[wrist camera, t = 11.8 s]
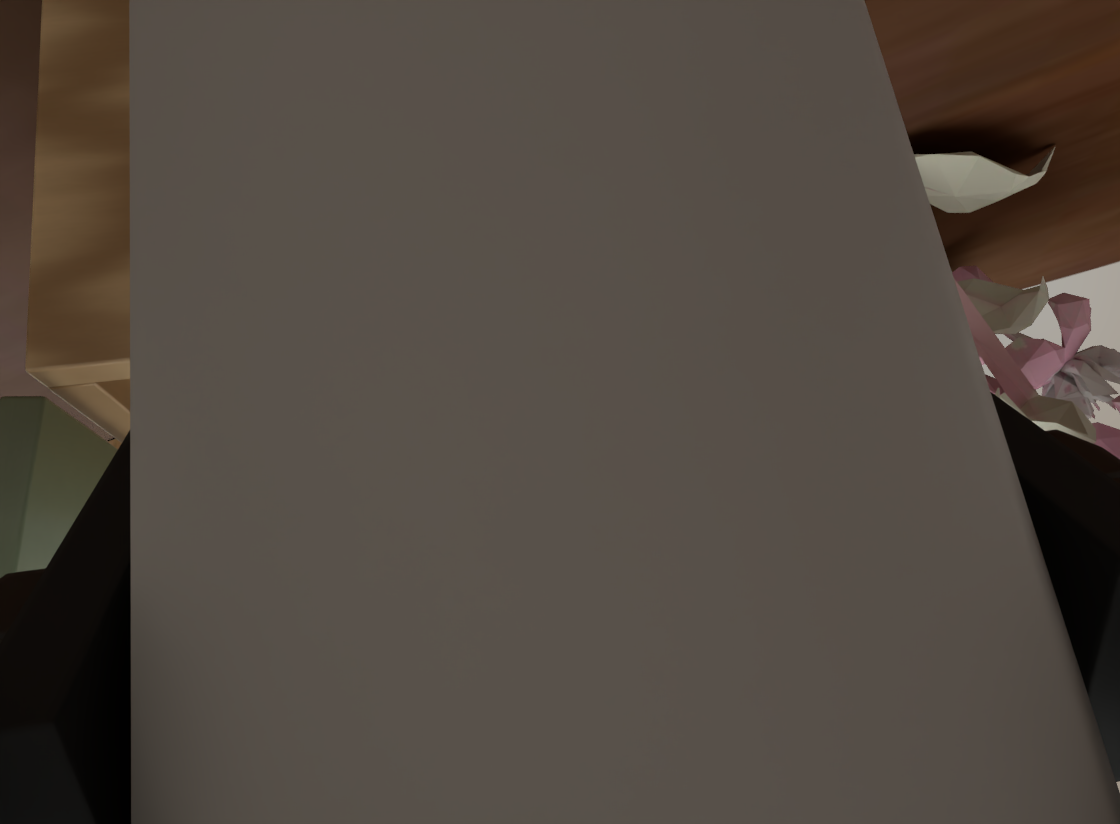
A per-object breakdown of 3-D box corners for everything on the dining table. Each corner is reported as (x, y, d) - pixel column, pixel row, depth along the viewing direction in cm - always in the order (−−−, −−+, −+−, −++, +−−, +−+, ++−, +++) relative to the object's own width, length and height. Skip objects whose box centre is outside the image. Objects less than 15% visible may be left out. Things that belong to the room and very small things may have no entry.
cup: (-72, -181, 8) (-212, 1313, 4) (918, -411, 7) (1554, 1093, 4) (309, 269, 16) (355, 912, 12) (784, 177, 15) (955, 823, 12)
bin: (672, -210, 22) (799, 290, 18) (599, 176, 38) (657, 492, 34) (49, -184, 21) (23, 372, 16) (243, 207, 37) (255, 543, 32)
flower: (583, 329, 49) (815, 726, 49) (845, 102, 29) (1253, 778, 28) (825, 204, 58) (1026, 540, 57) (1158, -38, 38) (1478, 476, 37)
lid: (-156, 1577, 11) (-223, 1583, 11) (226, 1074, 27) (199, 1076, 27) (44, 394, 16) (-2, 394, 16) (267, 555, 32) (244, 555, 32)
